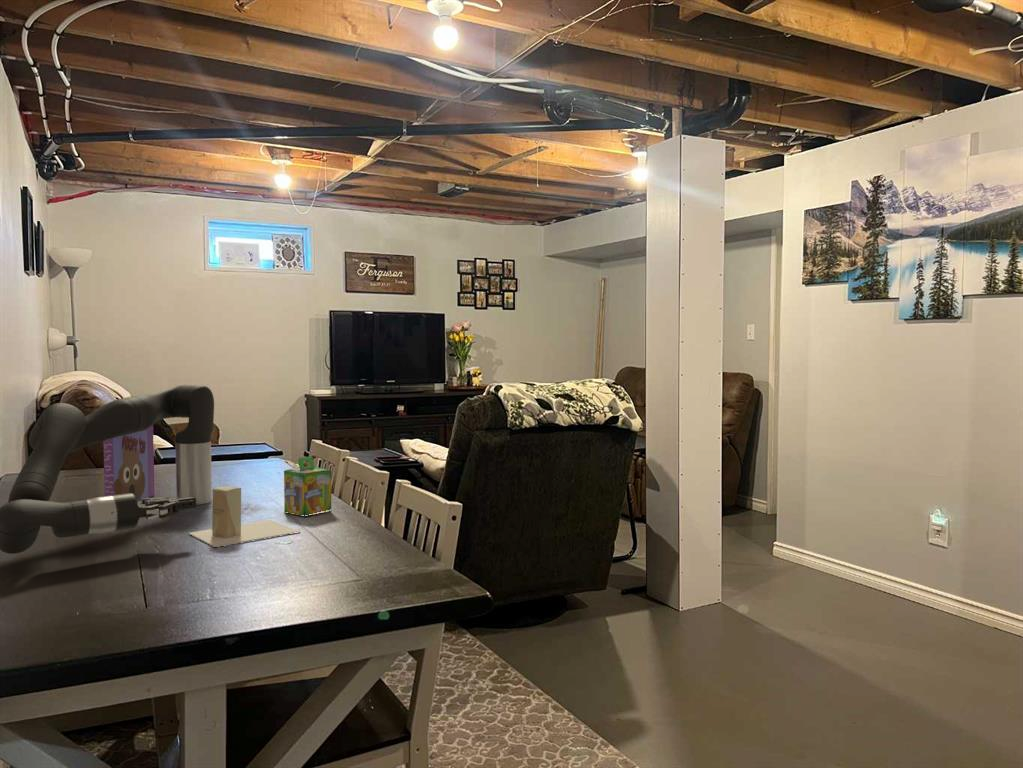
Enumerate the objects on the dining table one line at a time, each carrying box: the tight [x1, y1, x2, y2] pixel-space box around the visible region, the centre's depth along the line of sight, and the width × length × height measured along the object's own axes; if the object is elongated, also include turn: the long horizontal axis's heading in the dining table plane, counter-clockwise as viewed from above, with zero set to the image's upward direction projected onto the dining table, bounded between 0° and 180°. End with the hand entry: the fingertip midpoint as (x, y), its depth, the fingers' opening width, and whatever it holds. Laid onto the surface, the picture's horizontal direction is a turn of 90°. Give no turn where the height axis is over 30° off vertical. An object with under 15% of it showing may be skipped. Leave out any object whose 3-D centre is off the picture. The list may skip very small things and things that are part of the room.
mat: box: [188, 519, 300, 548], centre depth 175 cm, size 16×20×1 cm
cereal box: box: [103, 425, 155, 502], centre depth 210 cm, size 17×5×24 cm, turn 179°
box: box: [211, 485, 242, 538], centre depth 172 cm, size 5×4×11 cm
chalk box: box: [283, 455, 332, 516], centre depth 197 cm, size 9×9×15 cm
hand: (194, 502), depth 167 cm, fingers closed
